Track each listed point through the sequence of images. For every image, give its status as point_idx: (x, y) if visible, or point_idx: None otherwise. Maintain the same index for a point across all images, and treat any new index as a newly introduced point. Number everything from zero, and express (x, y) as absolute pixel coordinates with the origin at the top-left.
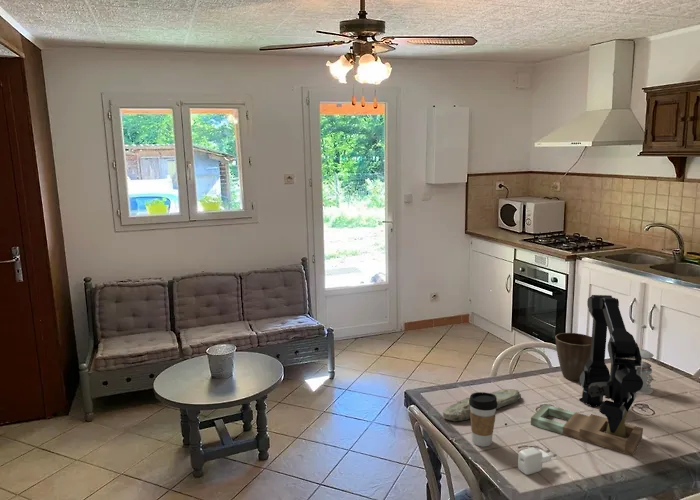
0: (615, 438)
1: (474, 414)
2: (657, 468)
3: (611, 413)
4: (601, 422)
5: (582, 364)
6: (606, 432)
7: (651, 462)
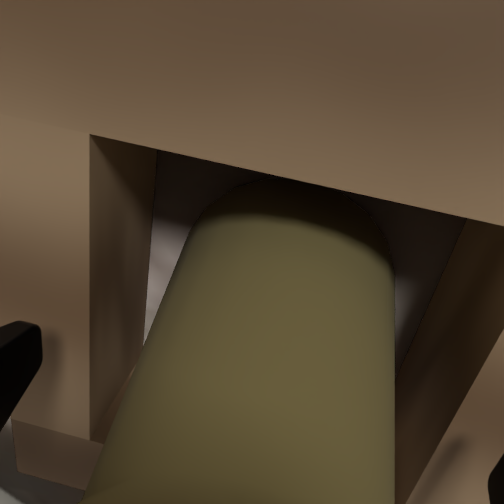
0: None
1: None
2: (20, 482)
3: None
4: (462, 164)
5: None
6: (246, 225)
7: None
